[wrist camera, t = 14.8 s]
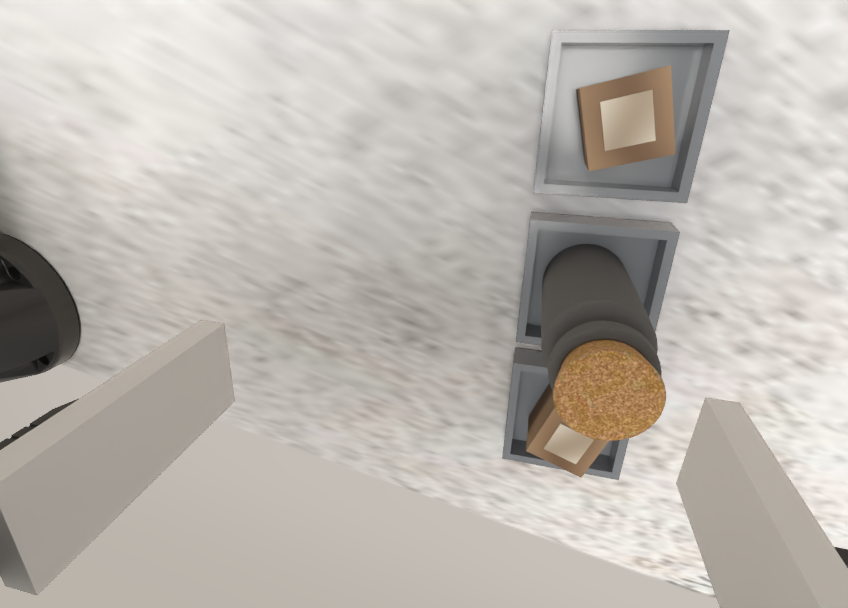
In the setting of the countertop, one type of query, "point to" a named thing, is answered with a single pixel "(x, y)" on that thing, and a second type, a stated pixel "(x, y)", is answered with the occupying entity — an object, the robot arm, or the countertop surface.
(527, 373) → the dish
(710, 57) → the dish
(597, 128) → the cube
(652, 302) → the dish
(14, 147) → the countertop surface
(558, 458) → the cube
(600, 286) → the bottle
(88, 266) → the countertop surface
